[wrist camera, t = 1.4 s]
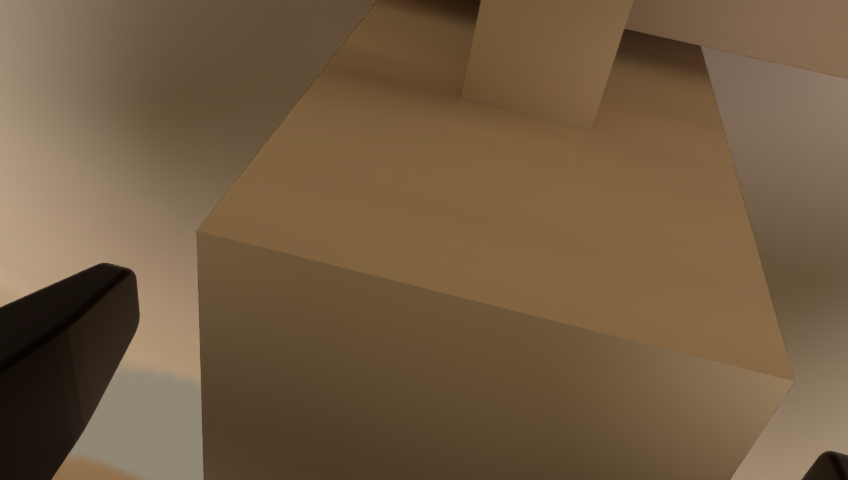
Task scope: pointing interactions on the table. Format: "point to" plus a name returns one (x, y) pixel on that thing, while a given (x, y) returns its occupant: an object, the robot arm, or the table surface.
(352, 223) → the wooden mallet
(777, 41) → the board
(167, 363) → the table surface
